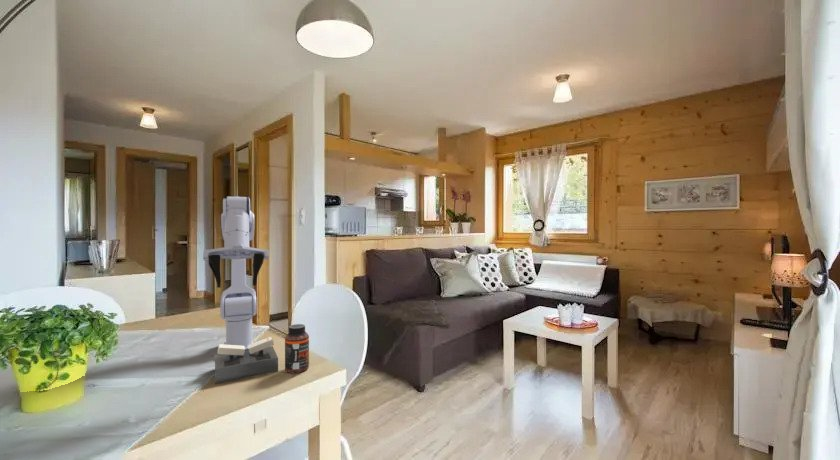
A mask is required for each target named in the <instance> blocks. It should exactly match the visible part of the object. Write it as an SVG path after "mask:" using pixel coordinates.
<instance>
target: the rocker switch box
mask: <svg viewBox="0 0 840 460" xmlns="http://www.w3.org/2000/svg"><path fill="white" fill-rule="evenodd" d="M277 372H279V357H278V354H277V353H276V350H275V349H274V345H272V346H270V347H267V348H265V349H262V350H260V351H257V352H255V353H252V354H250V352H249V349H246V350H245V352H244V355H226V354H218V355H214V383H215V384H214V385H216V384H222V383H226V382H232V381H237V380H242V379H246V378H252V377H257V376H263V375H266V374H273V373H277Z"/></svg>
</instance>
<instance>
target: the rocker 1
mask: <svg viewBox="0 0 840 460" xmlns="http://www.w3.org/2000/svg"><path fill="white" fill-rule="evenodd" d="M217 347H218V348H217V354H218V355H222V354H226V355H244V352H245V351H246V350H245V347H244V346H241V345H225V344H224V343H223V344H222V343H220V344H218V346H217Z"/></svg>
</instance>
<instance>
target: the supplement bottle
mask: <svg viewBox="0 0 840 460" xmlns="http://www.w3.org/2000/svg"><path fill="white" fill-rule="evenodd" d="M309 367H310V335H309V334H308V333H307V332H306V325H305V324H301V323H298V324H297V323H296V324H292V325H289V326H288V333H287V334H286V335H285V338H284V370H285V371H286V372H287V373H291V374H297V373H302V372H305V371H307V370H308V368H309Z"/></svg>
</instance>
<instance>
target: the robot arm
mask: <svg viewBox="0 0 840 460" xmlns="http://www.w3.org/2000/svg"><path fill="white" fill-rule="evenodd" d="M222 199H223V200H222V213H221V216H220V219H221V221H220V223H221V224H220V226H221V234H222V235H221V236H222V238H223V241H224V243H223V244H224V245H223V246H224V247H218V248H211V249H203V254H202V258H203V259H202V260H203V261H208V266H209V268H210V270H211V272H212V274H213V276H214V278H215V283H216V288H217V289H218V288H221V287H222V286H221V282H222V281H221V280H222V279H221V278H222V277H221V260H226V259H227V260H231V263H230V264H231V265H230V266H231V268H230V269H231V270H230V271H231V272H230V274H231V276H230V278H231V281H230V286H229V287H228V288H226V289H225V290H223V291H222V293H221V294H220V295H221V296H220V302H219V303H220V304H219V308H220V310H219V311H220V318H221V319H222V320H224V321H225V342H223V344H225V345H241V346H244V347H245V351H246V350H249V349H248V345H249V344H252V343H255V342H254V340H253V316H255V315H257V313H258V310H257V308H258V305H257V295H256V294H257V292H256V289H254V288H252V287H250V286H249V285H247V266H246V264H247V263H246V262H247V259H252V286H253V287H255V286H257V280H258V276H259V272H260V271H261V268H262V266H263V264H264V261H265V260H269V257H270V256H269V249H266V248H265V249H263V248H258V247H251V246H250V241H253V239H254V236H255V223H256V222H255V213H254V212H252V210H251V199H250V197H249V196H247V197H246V196H238V195H237V196H226V198H222Z"/></svg>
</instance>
